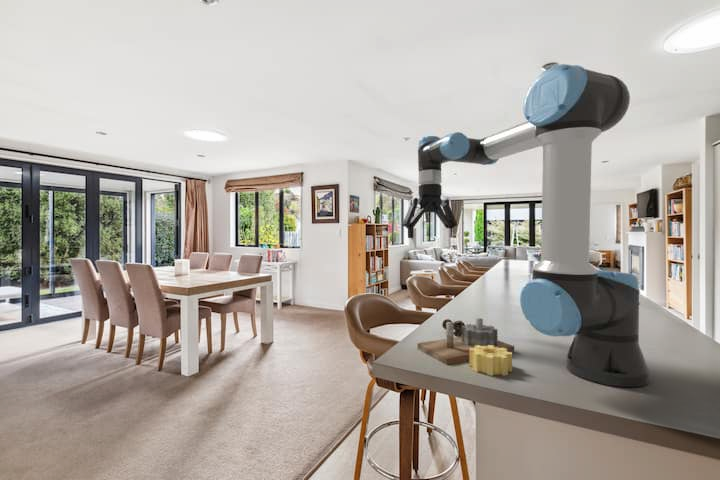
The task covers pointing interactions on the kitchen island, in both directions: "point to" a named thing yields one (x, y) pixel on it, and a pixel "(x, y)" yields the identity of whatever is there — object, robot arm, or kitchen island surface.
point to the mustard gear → (490, 360)
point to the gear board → (463, 342)
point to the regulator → (454, 326)
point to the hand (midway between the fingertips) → (430, 247)
